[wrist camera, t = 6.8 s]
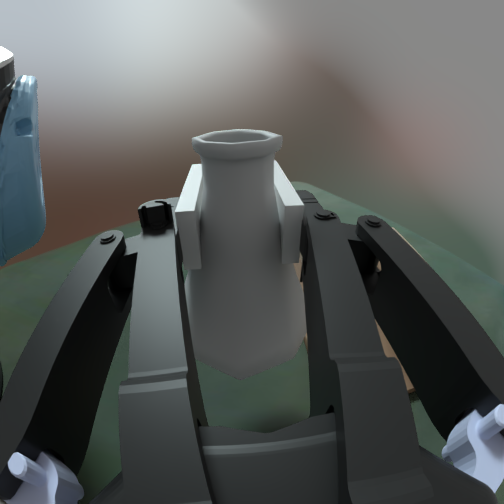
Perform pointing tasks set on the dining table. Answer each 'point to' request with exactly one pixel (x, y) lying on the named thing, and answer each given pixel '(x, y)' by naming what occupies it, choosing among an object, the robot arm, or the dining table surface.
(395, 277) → the robot arm
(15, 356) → the dining table surface
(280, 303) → the flask
